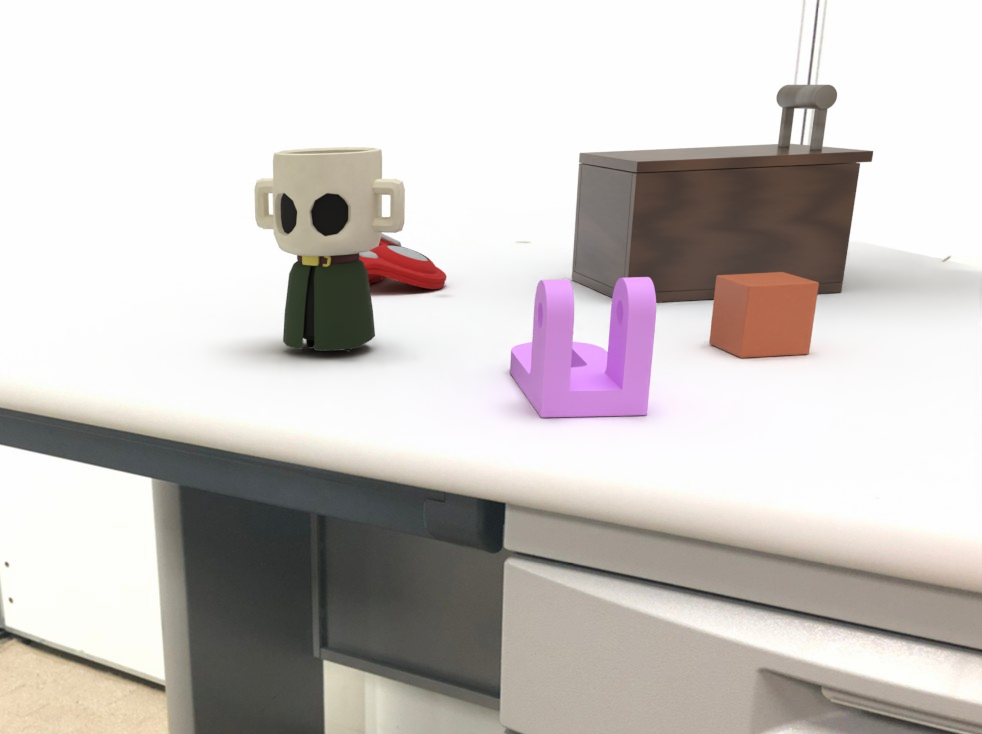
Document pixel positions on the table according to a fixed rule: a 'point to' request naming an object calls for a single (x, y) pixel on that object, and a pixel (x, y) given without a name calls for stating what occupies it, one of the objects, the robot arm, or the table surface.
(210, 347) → the table surface
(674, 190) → the walnut box
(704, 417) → the table surface
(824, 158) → the lid
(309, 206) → the character mug
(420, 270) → the tracker holder
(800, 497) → the table surface
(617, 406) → the bracket
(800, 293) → the block
